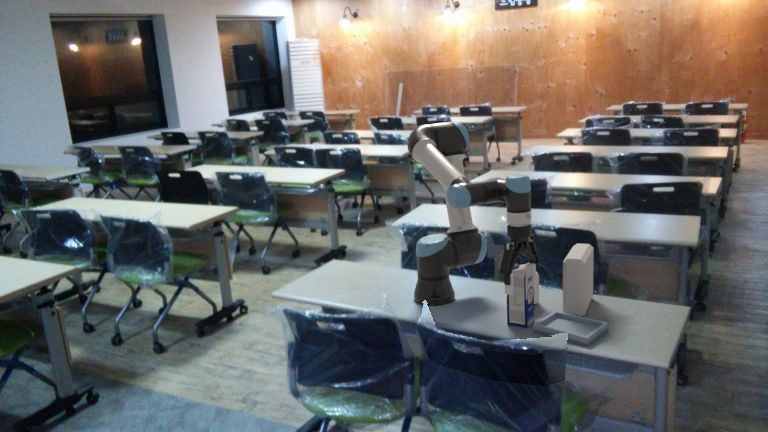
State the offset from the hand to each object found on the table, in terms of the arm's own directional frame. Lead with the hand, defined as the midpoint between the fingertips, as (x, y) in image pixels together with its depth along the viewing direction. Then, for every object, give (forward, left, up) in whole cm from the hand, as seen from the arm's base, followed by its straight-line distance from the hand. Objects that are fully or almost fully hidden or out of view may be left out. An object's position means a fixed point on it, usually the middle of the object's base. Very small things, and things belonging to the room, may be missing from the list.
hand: (520, 288), depth 201 cm
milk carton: (0, 0, -12) cm, 12 cm away
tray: (+16, +3, -12) cm, 20 cm away
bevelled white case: (+8, +23, -12) cm, 27 cm away
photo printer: (-7, +15, -12) cm, 21 cm away
